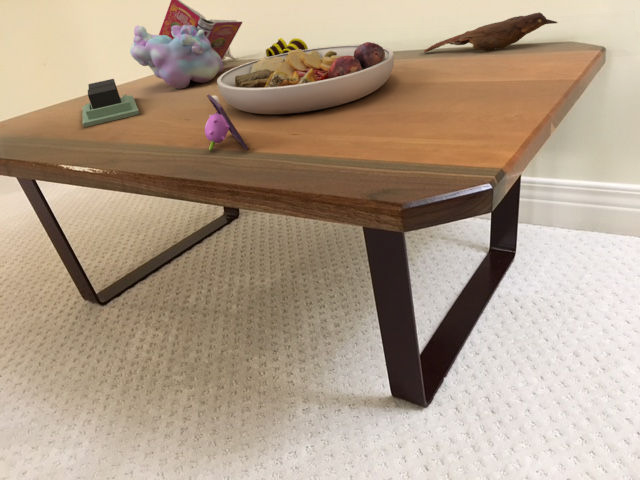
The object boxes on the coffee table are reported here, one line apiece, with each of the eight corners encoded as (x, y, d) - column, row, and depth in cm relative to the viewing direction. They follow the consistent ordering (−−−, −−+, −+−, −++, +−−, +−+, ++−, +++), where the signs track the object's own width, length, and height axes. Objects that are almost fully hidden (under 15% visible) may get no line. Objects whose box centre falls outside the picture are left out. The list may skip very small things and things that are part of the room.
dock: (83, 127, 97) (74, 101, 95) (83, 110, 110) (75, 86, 108) (139, 114, 99) (131, 88, 97) (133, 98, 113) (126, 75, 111)
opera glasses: (268, 66, 126) (260, 45, 123) (284, 56, 129) (277, 36, 126) (295, 68, 120) (287, 46, 117) (311, 58, 122) (304, 36, 119)
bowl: (188, 121, 89) (175, 73, 85) (276, 75, 112) (268, 35, 108) (357, 120, 76) (350, 63, 72) (417, 68, 99) (414, 22, 95)
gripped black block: (95, 116, 100) (87, 95, 98) (94, 110, 105) (87, 89, 103) (122, 110, 101) (115, 88, 99) (121, 104, 106) (114, 83, 104)
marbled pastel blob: (112, 77, 111) (132, -10, 102) (141, 54, 129) (160, -22, 121) (208, 115, 115) (234, 34, 107) (223, 87, 133) (246, 16, 125)
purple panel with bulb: (226, 102, 68) (213, 90, 76) (191, 125, 68) (181, 111, 75) (253, 146, 72) (238, 130, 79) (221, 168, 71) (208, 150, 79)
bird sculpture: (429, 61, 113) (424, 37, 111) (559, 30, 101) (556, 2, 99) (422, 70, 108) (416, 45, 106) (558, 38, 96) (554, 9, 94)
